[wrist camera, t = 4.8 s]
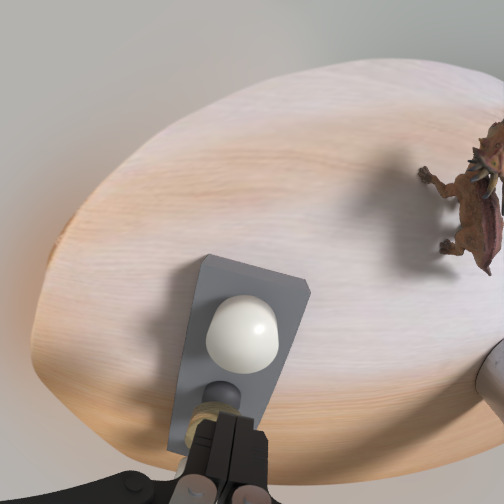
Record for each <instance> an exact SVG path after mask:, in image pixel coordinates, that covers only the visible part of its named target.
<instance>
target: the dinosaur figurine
mask: <svg viewBox="0 0 504 504" xmlns="http://www.w3.org/2000/svg"><path fill="white" fill-rule="evenodd" d="M479 141H480V144H481V145H480V149H478V148H475V147H473V153H474V154H473V155H474V157H473V159H472V160H468V162H469V163H470V164H469V166H468V168H467V170H466V172H465V174H460V175H458V176H457V177H456V179H455V182H454V183H450V184H447V185H445V184H444V183H442V182H440V181H439V179H438V178H437V177H436V176H435V175H432V174H431V173H430V172H429V170H428V168H427V167H426V166H424V168H420V171H421V172H419V176H420V177H422V178H423V180H422V181H423V182H426V184H429V183H433V184H434V185H435V186H436V187H437V190H438V192H439V193H440V195H441V196H442V197H443V198H447V197H451V196H456V197H457V198H458V200H459V203H460V208H459V212H460V213H459V216H460V222H461V226H462V229H461V230H460V231H458V232H457V234H456V235H455V244H454V243H453V242H452V243H450V241H449V240H448V239H446V241H445V243H442V242H441V243H440V246H441V247H442V248H441V250H440V253H444V254H448V255H456V256H461V255H463V254H464V250H465V249H466V250H468V251H469V252H472V254H473V256H474V259H475V261H476V264H477V266H478V267H480V268H481V269H482V270H483V271H485V272H486V273H487V274H488V275H489V276H491V272H490V268H489V265H490V264H491V262H492V259H493V258H494V257H495V255H496V254H497V253H498V252H499V251H500V250H501V242H502V230H503V226H504V222H503V218H502V217H501V213H500V205H499V199H498V197H497V195H496V193H495V191H496V188H495V186H496V184H497V180H498V177H500V180H501V181H502V182H503V185H502V216H504V119H503V121H502V122H498V123H496V122H495V123H494V124H493V125H492V126H491V127H490V128H489V131H488V135H487V138H482V139H480V138H479ZM489 174H491V175H490V178H489V176H488V175H489Z"/></svg>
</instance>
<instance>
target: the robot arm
mask: <svg viewBox="0 0 504 504" xmlns="http://www.w3.org/2000/svg"><path fill="white" fill-rule="evenodd" d="M476 390H477V392H478V393H479V394H480V395H481V397H482V398H483V399H484V400H485V401H486V403H487V404H488V405H489V406H490V407H491V409H492V410H493V411H494V412H495V414H496V415H497V416H498V417H499V418H500V420H501V421H502V422H503V423H504V340H502V341H501V342H500V343H499V344H498V345H497V346H496V347H495V348H494V349H493V350H492V351H491V353H490V354H489V355H488V357H487V358H486V360H485V361H484V363H483V365H482V367H481V369H480V371H479V373H478V376H477V380H476ZM253 429H254V418H251V417H246V416H241V415H237V416H236V414H232V413H228V412H223V411H219V413H218V416H217V420H216V421H212V420H208V419H203V420H202V421H201V422H200V423H199V424H198V425H197V428H196V431H195V434H194V438H193V441H192V445H191V448H190V451H189V455H188V458H187V462H186V465H185V469H184V471H183V473H182V474H181V475H180V476H179V477H178V478H176V479H174V480H170V481H156V480H150V478H149V477H147V476H146V475H145V474H143V473H140V472H138V471H130V470H129V471H124V472H121V473H118V474H115V475H112V476H109V477H106V478H104V479H100V480H97V481H94V482H90V483H87V484H83V485H80V486H76V487H73V488H69V489H65V490H61V491H57V492H52V493H48V494H43V495H38V496H32V497H27V498H21V499H14V500H6V501H0V504H216V502H217V504H281V503H279V502H277V501H276V500H274V499H273V498H272V497H271V495H270V494H269V492H268V489H267V475H268V460H267V459H268V440H267V438H266V436H265V434H264V432H263V431H258V430H253ZM217 500H218V501H217Z"/></svg>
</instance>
